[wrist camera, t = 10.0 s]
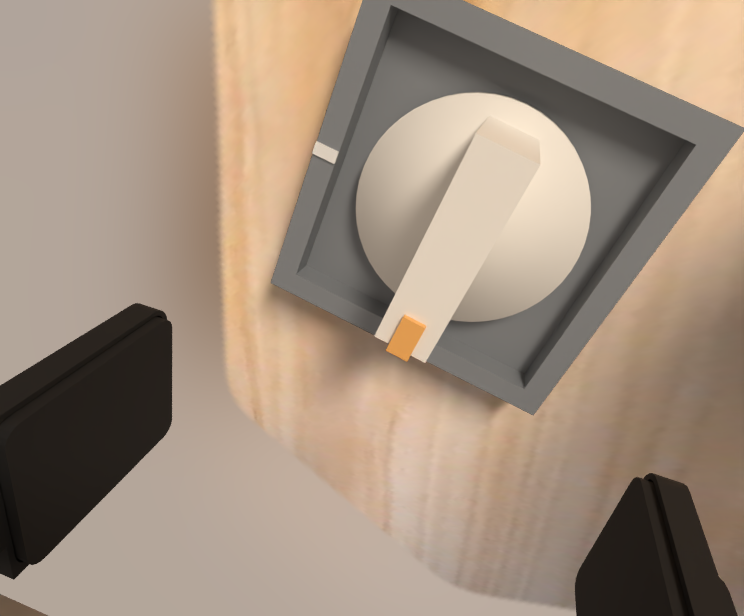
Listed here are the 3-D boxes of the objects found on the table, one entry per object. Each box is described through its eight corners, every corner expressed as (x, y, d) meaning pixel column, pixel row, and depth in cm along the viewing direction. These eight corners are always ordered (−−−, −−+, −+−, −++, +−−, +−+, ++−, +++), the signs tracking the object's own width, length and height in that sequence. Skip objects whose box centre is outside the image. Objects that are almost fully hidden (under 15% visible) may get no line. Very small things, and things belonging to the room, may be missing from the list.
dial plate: (718, 119, 23) (747, 129, 20) (533, 380, 31) (533, 417, 28) (395, -28, 24) (374, -41, 21) (295, 261, 32) (269, 284, 29)
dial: (415, 49, 23) (371, 46, 17) (641, 159, 23) (681, 198, 17) (331, 254, 29) (275, 310, 23) (512, 347, 28) (505, 431, 22)
